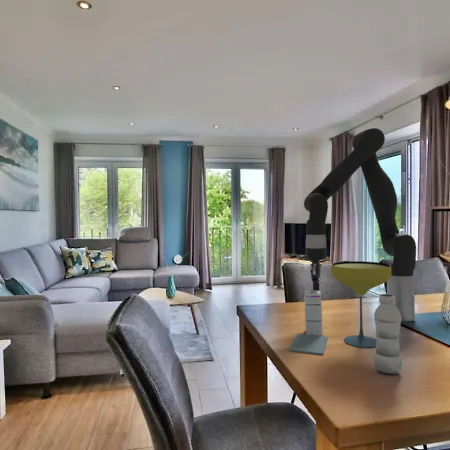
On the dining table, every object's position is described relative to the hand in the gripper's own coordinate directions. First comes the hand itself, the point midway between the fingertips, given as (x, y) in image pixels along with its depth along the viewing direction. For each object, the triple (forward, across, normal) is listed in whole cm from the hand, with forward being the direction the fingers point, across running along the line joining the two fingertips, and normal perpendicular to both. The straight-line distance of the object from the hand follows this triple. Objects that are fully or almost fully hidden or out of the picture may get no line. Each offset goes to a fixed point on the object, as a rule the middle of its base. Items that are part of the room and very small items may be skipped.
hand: (316, 292), depth 132 cm
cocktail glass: (+12, -15, -16) cm, 25 cm away
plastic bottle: (+12, -36, -22) cm, 44 cm away
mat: (+12, -22, 0) cm, 25 cm away
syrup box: (+12, -11, 0) cm, 16 cm away
